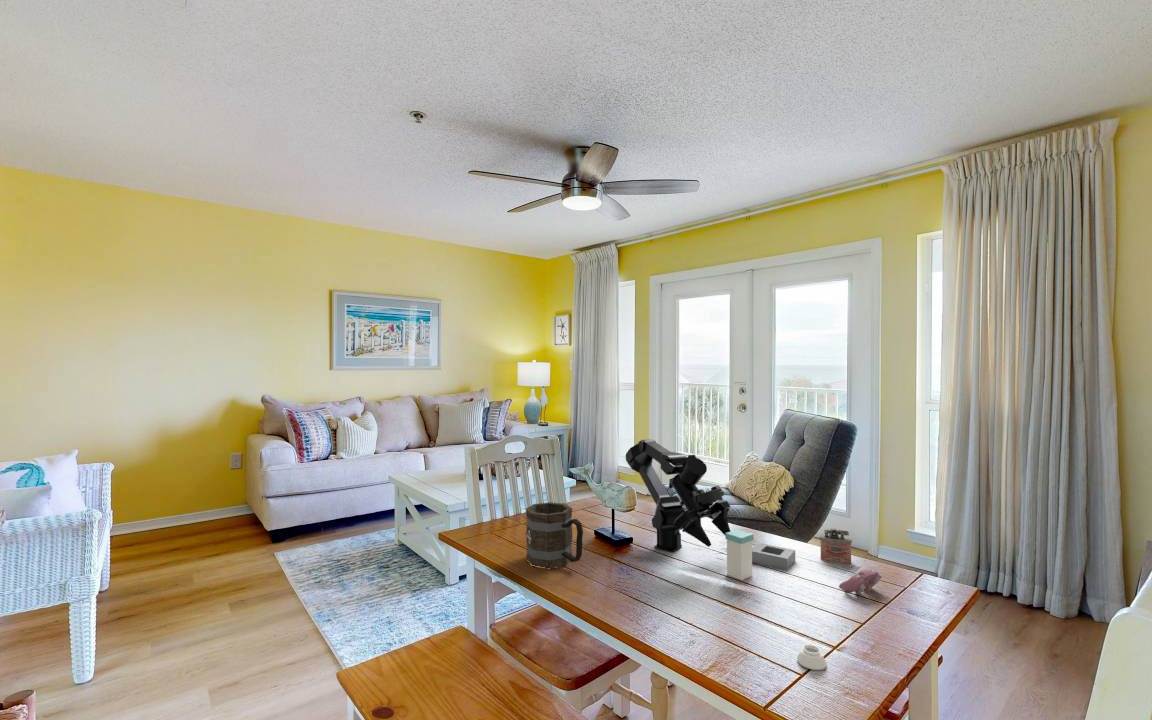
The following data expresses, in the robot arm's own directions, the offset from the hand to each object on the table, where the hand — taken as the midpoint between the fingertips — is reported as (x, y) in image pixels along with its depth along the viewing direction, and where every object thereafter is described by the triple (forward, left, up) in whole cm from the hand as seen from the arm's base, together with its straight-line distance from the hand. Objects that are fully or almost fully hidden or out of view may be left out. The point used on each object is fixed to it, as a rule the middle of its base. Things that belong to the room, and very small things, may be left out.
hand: (720, 542), depth 142 cm
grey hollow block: (+10, +13, -8) cm, 18 cm away
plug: (+6, -2, -8) cm, 10 cm away
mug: (-40, -22, -8) cm, 46 cm away
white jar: (+30, -31, -9) cm, 44 cm away
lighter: (+24, +24, -8) cm, 35 cm away
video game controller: (+32, +9, -8) cm, 35 cm away
